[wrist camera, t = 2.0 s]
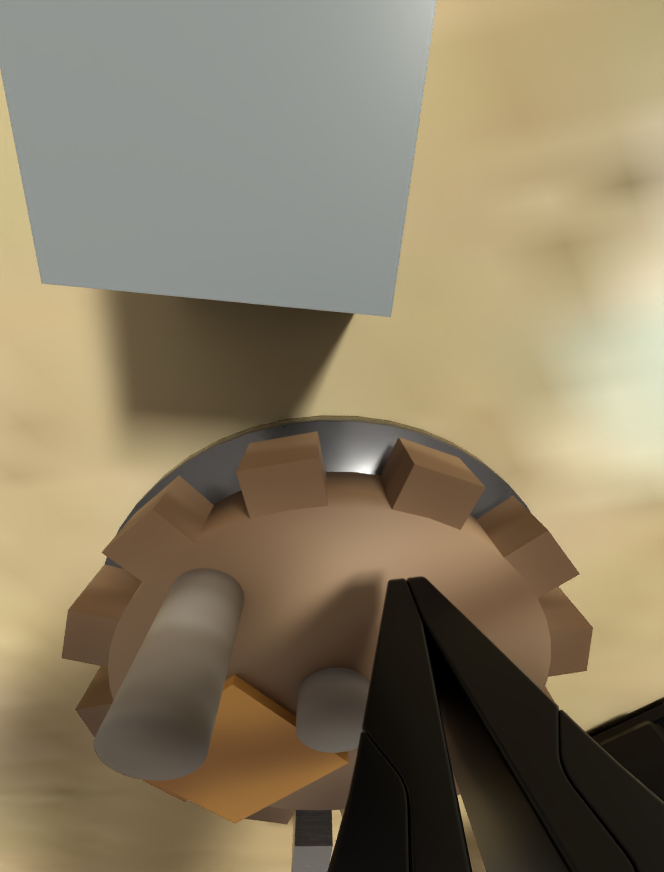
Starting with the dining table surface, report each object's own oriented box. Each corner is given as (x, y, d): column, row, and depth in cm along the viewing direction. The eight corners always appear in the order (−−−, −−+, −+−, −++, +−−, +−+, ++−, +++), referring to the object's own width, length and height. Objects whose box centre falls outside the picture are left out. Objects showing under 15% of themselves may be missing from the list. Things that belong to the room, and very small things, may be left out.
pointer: (298, 758, 17) (294, 846, 15) (330, 758, 17) (332, 845, 15) (294, 792, 18) (291, 880, 16) (325, 792, 19) (326, 879, 16)
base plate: (612, 626, 15) (623, 639, 14) (310, 786, 18) (310, 802, 18) (370, 295, 10) (373, 295, 9) (14, 606, 13) (0, 620, 13)
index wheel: (623, 645, 14) (800, 846, 9) (310, 807, 17) (308, 1019, 12) (374, 307, 9) (450, 316, 4) (2, 627, 12) (-223, 860, 7)
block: (381, 80, 8) (467, -215, 3) (356, 308, 10) (391, 316, 5) (160, 49, 8) (-76, -327, 3) (176, 291, 10) (41, 283, 5)
